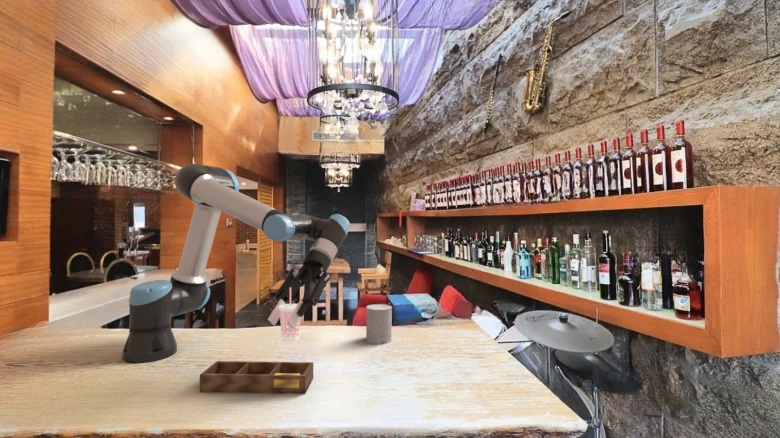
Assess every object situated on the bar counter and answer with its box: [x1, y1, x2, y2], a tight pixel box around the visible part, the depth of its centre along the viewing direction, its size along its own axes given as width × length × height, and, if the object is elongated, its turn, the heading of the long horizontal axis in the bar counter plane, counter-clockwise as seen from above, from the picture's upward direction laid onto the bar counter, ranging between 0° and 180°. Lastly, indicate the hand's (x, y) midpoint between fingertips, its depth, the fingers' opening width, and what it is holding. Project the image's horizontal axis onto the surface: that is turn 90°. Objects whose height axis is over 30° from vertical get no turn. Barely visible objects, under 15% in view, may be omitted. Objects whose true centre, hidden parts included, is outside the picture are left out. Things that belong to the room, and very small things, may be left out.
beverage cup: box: [279, 287, 301, 343], centre depth 104 cm, size 6×6×14 cm
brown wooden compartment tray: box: [199, 360, 314, 395], centre depth 103 cm, size 27×10×5 cm, turn 89°
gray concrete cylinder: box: [365, 303, 393, 345], centre depth 143 cm, size 10×10×12 cm
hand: (280, 324), depth 101 cm, fingers closed on beverage cup, 6 cm apart
